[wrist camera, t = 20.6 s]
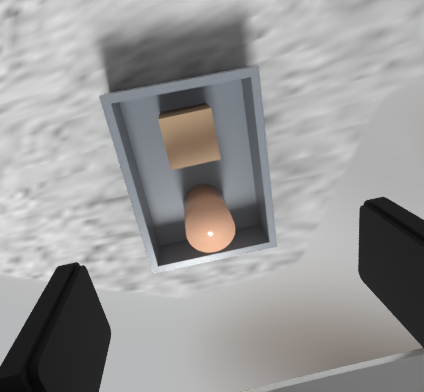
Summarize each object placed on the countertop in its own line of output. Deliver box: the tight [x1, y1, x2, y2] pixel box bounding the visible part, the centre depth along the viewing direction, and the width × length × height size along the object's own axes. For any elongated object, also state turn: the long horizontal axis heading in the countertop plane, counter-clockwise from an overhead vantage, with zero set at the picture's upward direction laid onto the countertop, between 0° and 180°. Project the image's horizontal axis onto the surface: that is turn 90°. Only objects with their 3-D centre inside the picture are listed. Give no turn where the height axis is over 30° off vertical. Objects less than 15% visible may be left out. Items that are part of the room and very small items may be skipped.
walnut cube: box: [158, 103, 221, 170], centre depth 32 cm, size 5×5×5 cm
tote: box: [99, 66, 277, 274], centre depth 34 cm, size 20×15×5 cm
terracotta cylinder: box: [183, 184, 235, 253], centre depth 34 cm, size 5×5×7 cm
